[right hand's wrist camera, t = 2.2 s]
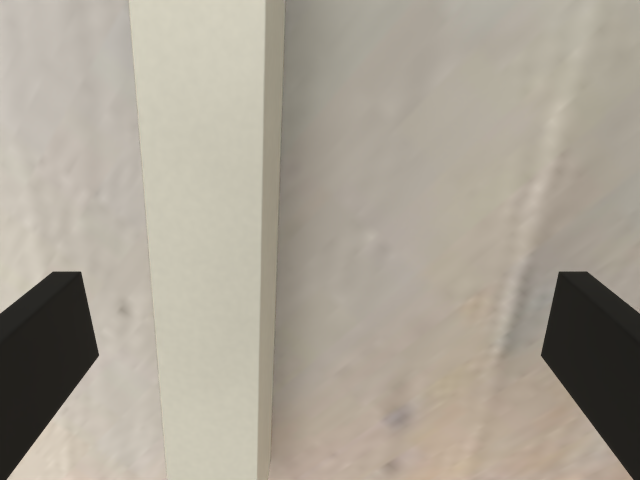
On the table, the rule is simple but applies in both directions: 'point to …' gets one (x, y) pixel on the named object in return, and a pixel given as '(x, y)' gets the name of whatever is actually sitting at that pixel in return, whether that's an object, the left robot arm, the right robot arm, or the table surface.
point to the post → (212, 223)
